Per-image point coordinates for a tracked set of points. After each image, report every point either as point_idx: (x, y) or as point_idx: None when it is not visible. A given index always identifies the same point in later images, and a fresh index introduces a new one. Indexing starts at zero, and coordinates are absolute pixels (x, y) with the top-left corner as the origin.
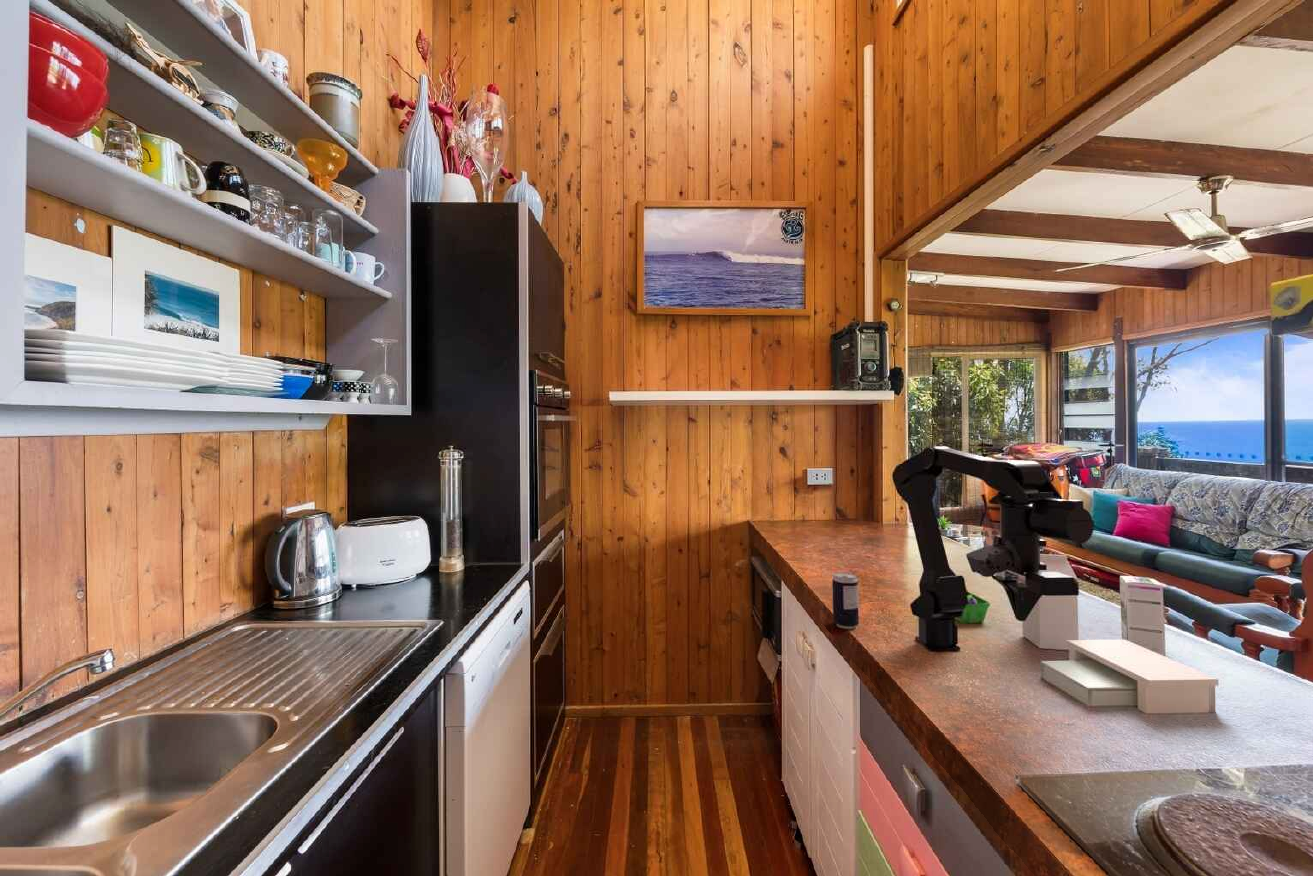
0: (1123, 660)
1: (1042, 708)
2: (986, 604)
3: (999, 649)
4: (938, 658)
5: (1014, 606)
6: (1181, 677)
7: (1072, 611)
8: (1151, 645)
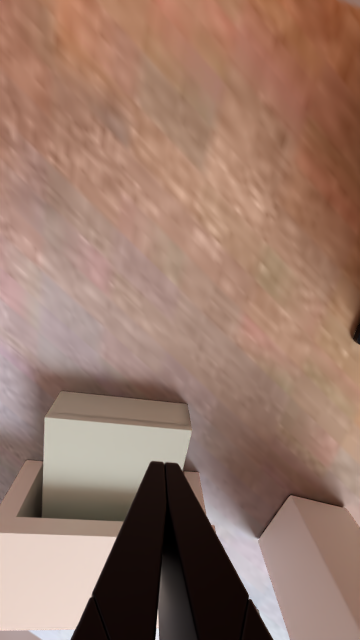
0: (87, 561)
1: (60, 291)
2: None
3: (320, 426)
4: (346, 251)
5: (179, 545)
6: None
7: None
8: None
